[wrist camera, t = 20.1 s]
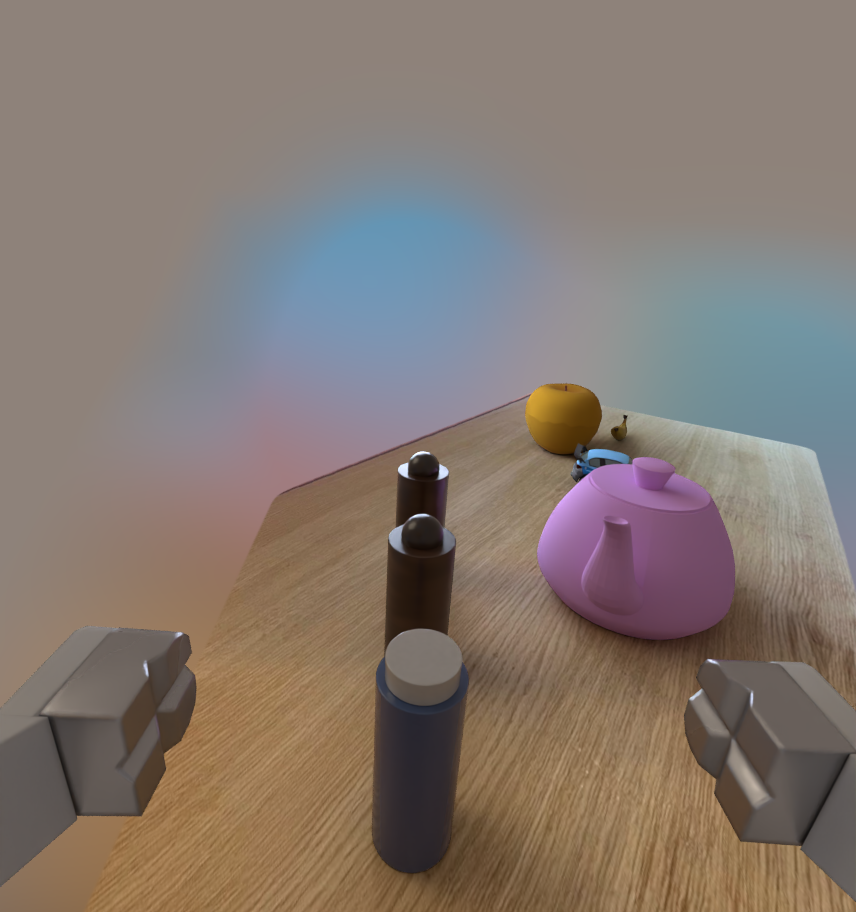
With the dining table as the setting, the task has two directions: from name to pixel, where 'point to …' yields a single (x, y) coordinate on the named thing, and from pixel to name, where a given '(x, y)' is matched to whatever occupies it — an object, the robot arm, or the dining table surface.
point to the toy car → (595, 460)
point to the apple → (563, 417)
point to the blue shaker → (417, 748)
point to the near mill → (419, 577)
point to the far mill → (421, 488)
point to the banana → (620, 430)
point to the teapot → (640, 552)
